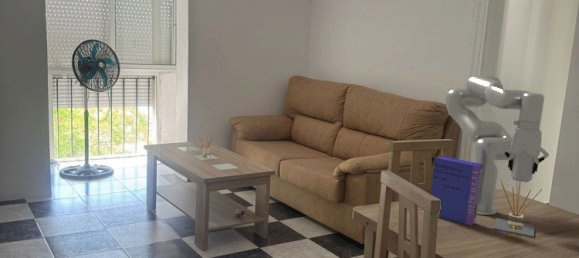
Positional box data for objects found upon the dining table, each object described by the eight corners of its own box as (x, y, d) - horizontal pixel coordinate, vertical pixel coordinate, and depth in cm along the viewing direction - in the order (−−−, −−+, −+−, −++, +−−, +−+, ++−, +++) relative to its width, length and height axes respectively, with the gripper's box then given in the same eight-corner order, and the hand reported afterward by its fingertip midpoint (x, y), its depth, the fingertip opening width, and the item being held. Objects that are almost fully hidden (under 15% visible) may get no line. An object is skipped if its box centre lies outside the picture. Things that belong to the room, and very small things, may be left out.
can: (530, 179, 198) (534, 148, 196) (532, 183, 191) (537, 152, 189) (509, 176, 201) (513, 146, 199) (510, 180, 194) (515, 149, 192)
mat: (493, 229, 196) (493, 227, 196) (496, 219, 208) (496, 217, 208) (533, 237, 190) (533, 236, 190) (534, 226, 202) (534, 225, 202)
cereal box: (475, 223, 202) (482, 163, 198) (470, 226, 198) (478, 165, 194) (433, 211, 213) (439, 155, 209) (428, 214, 209) (435, 156, 205)
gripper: (503, 123, 193) (496, 169, 196) (554, 130, 185) (547, 177, 188) (504, 121, 199) (498, 165, 203) (554, 127, 192) (547, 173, 195)
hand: (522, 171), depth 195 cm, fingers closed on can, 7 cm apart
